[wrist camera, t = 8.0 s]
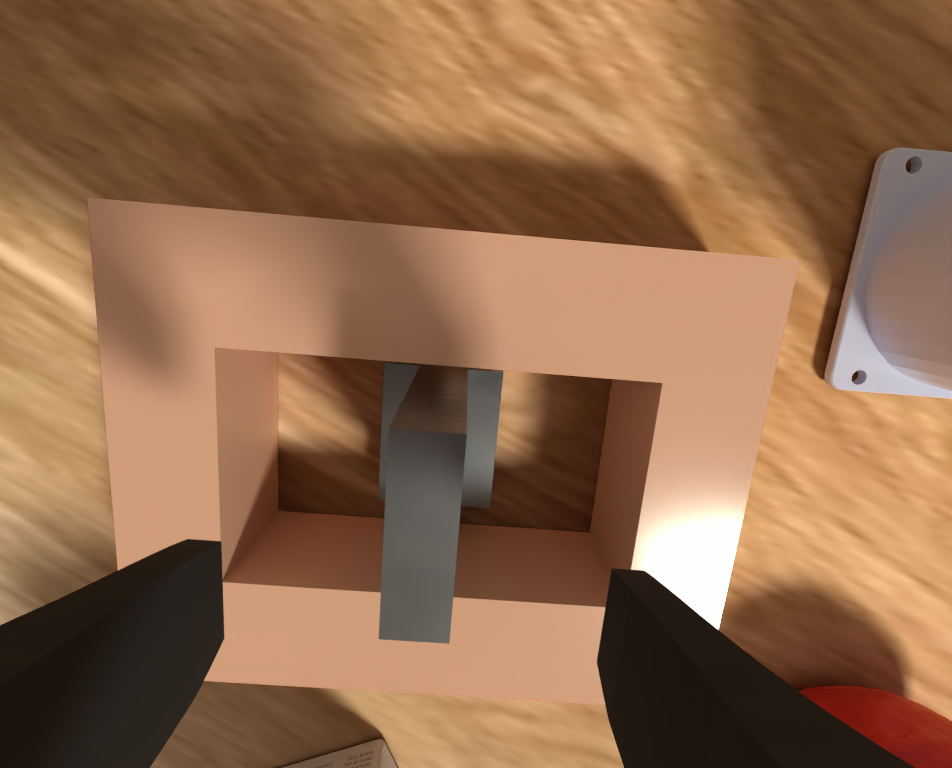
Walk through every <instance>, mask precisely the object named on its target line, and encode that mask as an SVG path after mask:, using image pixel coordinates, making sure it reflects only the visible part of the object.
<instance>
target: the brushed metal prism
mask: <svg viewBox="0 0 952 768" xmlns="http://www.w3.org/2000/svg"><path fill="white" fill-rule="evenodd" d="M502 380H503V370H493V369H480V368H468V367H455V366H442V365H430V364H417V363H405V362H392V361H385V362H384V378H383V401H382V424H381V447H380V470H379V493H378V500H379V501H385V514H384V535H383V556H382V577H381V599H380V620H379V639H381V640H397V641H414V642H430V643H446V644H449V642H450V631H451V619H452V607H453V595H454V583H455V571H456V559H457V547H458V535H459V523H460V511H461V506H464V507H478V508H490V503H491V493H492V482H493V472H494V462H495V452H496V441H497V431H498V421H499V411H500V400H501V390H502Z"/></svg>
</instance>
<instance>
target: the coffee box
mask: <svg viewBox="0 0 952 768" xmlns="http://www.w3.org/2000/svg"><path fill="white" fill-rule="evenodd" d="M282 768H397V766H396V764H395V762H394V760H393V758H392V756H391V754H390V752H389V750H388V748H387V746H386V744H385V742H384V740H383V739H377V740H373V741H370V742H367V743H363V744H360V745H356V746H353V747H350V748H347V749H343V750H340V751H336V752H333V753H329V754H326V755H323V756H319V757H316V758H312V759H309V760H305V761H302V762H299V763H295V764H292V765H289V766H285V767H282Z"/></svg>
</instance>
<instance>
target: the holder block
mask: <svg viewBox="0 0 952 768" xmlns="http://www.w3.org/2000/svg"><path fill="white" fill-rule="evenodd" d="M87 206H88V218H89V230H90V242H91V254H92V266H93V278H94V290H95V302H96V314H97V327H98V339H99V351H100V363H101V375H102V387H103V399H104V411H105V423H106V435H107V447H108V459H109V471H110V484H111V496H112V508H113V520H114V532H115V544H116V556H117V568H118V570H120V569H122V568H124V567H126V566H128V565H130V564H133V563H135V562H137V561H139V560H141V559H143V558H145V557H147V556H149V555H151V554H154V553H156V552H158V551H160V550H162V549H164V548H167V547H169V546H171V545H174V544H176V543H179V542H181V541H184V540H186V539H195V540H209V541H221V545H222V576H223V608H224V640H223V642H222V645H221V647H220V649H219V651H218V653H217V655H216V657H215V659H214V661H213V663H212V665H211V668H210V670H209V672H208V674H207V675H206V677H205V679H204V681H213V682H230V683H246V684H263V685H280V686H297V687H314V688H331V689H348V690H365V691H382V692H399V693H416V694H432V695H449V696H466V697H483V698H500V699H517V700H534V701H551V702H568V703H585V704H602V705H605V700H604V696H603V691H602V686H601V681H600V676H599V671H598V666H597V657H598V651H599V645H600V638H601V632H602V626H603V620H604V613H605V607H606V601H607V595H608V589H609V582H610V576H611V570H612V568H615V569H629V570H644V571H646V572H647V573H648V574H650V575H651V576H653V577H654V578H655V579H656V580H658V581H659V582H660V583H662V584H663V585H664V586H665V587H667V588H668V589H669V590H670V591H671V592H673V593H674V594H675V595H676V596H677V597H679V598H680V599H681V600H682V601H684V602H685V603H686V604H687V605H688V606H690V607H691V608H692V609H693V610H694V611H696V612H697V613H698V614H699V615H700V616H702V617H703V618H704V619H705V620H707V621H708V622H709V623H710V624H711V625H713V626H714V627H715V628H716V629H718V630H719V626H720V621H721V617H722V612H723V607H724V603H725V598H726V594H727V589H728V585H729V580H730V576H731V571H732V566H733V562H734V557H735V553H736V548H737V544H738V539H739V535H740V530H741V525H742V521H743V516H744V512H745V507H746V503H747V498H748V494H749V489H750V484H751V480H752V475H753V471H754V466H755V462H756V457H757V452H758V448H759V443H760V439H761V434H762V430H763V425H764V421H765V416H766V411H767V407H768V402H769V398H770V393H771V389H772V384H773V380H774V375H775V370H776V366H777V361H778V357H779V352H780V348H781V343H782V339H783V334H784V329H785V325H786V320H787V316H788V311H789V307H790V302H791V298H792V293H793V288H794V284H795V279H796V275H797V270H798V266H799V261H800V260H793V259H782V258H770V257H759V256H747V255H736V254H725V253H713V252H702V251H691V250H679V249H668V248H657V247H645V246H634V245H623V244H611V243H600V242H588V241H577V240H566V239H554V238H543V237H532V236H520V235H509V234H498V233H486V232H475V231H464V230H452V229H441V228H429V227H418V226H407V225H395V224H384V223H373V222H361V221H350V220H339V219H327V218H316V217H305V216H293V215H282V214H270V213H259V212H248V211H236V210H225V209H214V208H202V207H191V206H180V205H168V204H157V203H145V202H134V201H123V200H111V199H100V198H89V197H87ZM278 352H279V353H292V354H304V355H317V356H329V357H342V358H354V359H367V360H380V361H392V362H405V363H417V364H430V365H442V366H455V367H468V368H480V369H493V370H505V371H518V372H530V373H543V374H555V375H568V376H581V377H593V378H606V379H612V384H611V390H610V397H609V404H608V411H607V418H606V425H605V431H604V438H603V445H602V452H601V459H600V465H599V472H598V479H597V486H596V493H595V499H594V506H593V513H592V520H591V527H590V532H575V531H561V530H547V529H533V528H518V527H504V526H490V525H475V524H461V523H459V535H458V547H457V559H456V571H455V583H454V595H453V607H452V619H451V631H450V642H449V644H446V643H430V642H414V641H397V640H381V639H379V620H380V599H381V577H382V556H383V535H384V518H375V517H361V516H346V515H332V514H318V513H303V512H289V511H278Z"/></svg>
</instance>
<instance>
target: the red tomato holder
mask: <svg viewBox="0 0 952 768" xmlns="http://www.w3.org/2000/svg"><path fill="white" fill-rule="evenodd" d="M799 692H800V693H801V694H803V695H804V696H806V697H807V698H808V699H810V700H811V701H813V702H814V703H816V704H817V705H818V706H820V707H821V708H823V709H824V710H826V711H827V712H829V713H830V714H832V715H833V716H835V717H836V718H838V719H839V720H841V721H842V722H844V723H845V724H847V725H849V726H850V727H852V728H853V729H855V730H856V731H858V732H859V733H861V734H862V735H864V736H865V737H867V738H868V739H870V740H872V741H873V742H875V743H876V744H878V745H879V746H881V747H882V748H884V749H885V750H887V751H889V752H890V753H892V754H894V755H895V756H897V757H898V758H900V759H902V760H903V761H905V762H907V763H908V764H910V765H912V766H913V767H915V768H952V721H950V720H949V719H947V718H945V717H943V716H941V715H939V714H937V713H936V712H934V711H932V710H930V709H928V708H927V707H925V706H923V705H921V704H918V703H916V702H914V701H911V700H909V699H906V698H904V697H902V696H899V695H897V694H895V693H892V692H888V691H884V690H880V689H877V688H871V687H860V686H850V685H845V686H842V685H841V686H818V687H809V688H806V689H803V690H800V691H799Z"/></svg>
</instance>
